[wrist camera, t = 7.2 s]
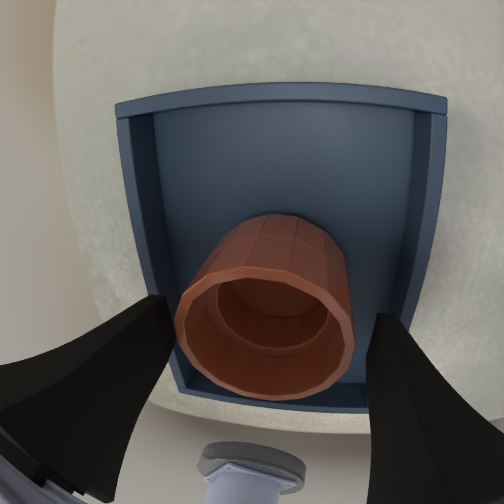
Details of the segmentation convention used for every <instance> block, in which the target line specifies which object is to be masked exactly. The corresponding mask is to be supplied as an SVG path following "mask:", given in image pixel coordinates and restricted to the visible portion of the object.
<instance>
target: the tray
mask: <svg viewBox="0 0 504 504" xmlns="http://www.w3.org/2000/svg"><path fill="white" fill-rule="evenodd" d="M115 115H116V119H117V120H116V125H117V134H118V143H119V151H120V158H121V165H122V172H123V178H124V185H125V191H126V197H127V202H128V208H129V213H130V218H131V223H132V228H133V233H134V238H135V242H136V247H137V251H138V256H139V260H140V264H141V268H142V272H143V276H144V280H145V284H146V288H147V292H148V296H149V295H151V294H155V295H162V296H166V298H167V302H168V306H169V310H170V314H171V318H172V322H173V326H174V330H175V333H176V328H175V322H174V316H175V313H176V311H177V308H178V305H179V303H180V300H181V297H182V294H183V293H184V292H185V290H186V289H187V287H188V286H189V284H190V283H191V281H192V280H193V278H194V277H195V275H196V274H197V272H198V271H199V270H200V268H201V267H202V265H203V264H204V262H205V261H206V260H207V258H208V257H209V255H210V254H211V252H212V251H213V250H214V248H215V247H216V245H217V244H218V242H219V241H220V240H221V239H222V237H223V236H224V235H226V234H227V233H228V232H229V231H230V230H232V229H233V228H234V227H235V226H236V225H238V224H239V223H242V222H243V221H245V220H249V219H252V218H256V217H259V216H263V215H266V214H268V215H269V214H279V215H288V216H297V217H299V218H302V219H304V220H306V221H307V222H309V223H311V224H313V225H315V226H317V227H319V228H321V229H322V230H324V231H325V232H327V233H328V234H329V235H330V236H331V238H332V239H333V240H334V241H335V243H336V244H337V245H338V246H339V248H340V249H341V250H342V251H343V254H344V256H345V260H346V264H347V268H348V273H349V278H350V285H351V293H352V302H353V311H354V320H355V331H356V342H357V345H356V349H355V352H354V355H353V358H352V360H351V363H350V366H349V368H348V370H347V372H345V373H344V374H343V375H342V376H341V377H340V378H339V379H338V380H337V381H336V382H335V383H333V384H332V385H331V386H330V387H329V388H327V389H325V390H323V391H320V392H317V393H315V394H312V395H310V396H307V397H304V398H301V399H291V400H278V401H273V400H272V401H270V400H264V399H258V398H252V397H247V396H243V395H240V394H237V393H235V392H233V391H230V390H228V389H226V388H224V387H221V386H219V385H217V384H216V383H214V382H213V381H211V380H210V379H209V378H207V377H206V376H205V375H204V374H202V373H201V372H200V371H199V370H197V369H196V368H195V367H194V366H193V365H192V364H191V362H190V361H189V359H188V358H187V356H186V355H185V353H184V352H183V350H182V349H181V347H180V345H179V343H178V340H177V339H176V342H175V345H174V348H173V350H172V353H171V355H170V358H169V360H168V362H169V365H170V368H171V370H172V373H173V376H174V379H175V382H176V385H177V386H178V390H179V392H180V393H184V394H188V395H193V396H198V397H203V398H208V399H213V400H218V401H224V402H230V403H236V404H243V405H250V406H257V407H265V408H273V409H283V410H293V411H305V412H321V413H348V414H369V408H368V399H367V390H366V354H367V350H368V347H369V343H370V339H371V335H372V332H373V328H374V324H375V320H376V315H377V313H395V314H396V316H397V317H398V318H399V320H400V321H401V322H402V324H403V325H404V326H405V328H406V329H407V331H409V328H410V325H411V322H412V319H413V316H414V313H415V309H416V306H417V303H418V299H419V296H420V292H421V289H422V285H423V281H424V277H425V274H426V270H427V265H428V261H429V257H430V253H431V248H432V243H433V238H434V233H435V228H436V223H437V217H438V211H439V205H440V198H441V191H442V183H443V174H444V165H445V153H446V139H447V116H446V115H447V98H446V97H443V96H438V95H433V94H428V93H422V92H417V91H410V90H404V89H397V88H389V87H381V86H371V85H361V84H347V83H329V82H267V83H248V84H235V85H224V86H214V87H205V88H197V89H190V90H183V91H177V92H171V93H165V94H159V95H154V96H149V97H144V98H139V99H135V100H130V101H126V102H121V103H117V104H115ZM176 337H177V334H176Z"/></svg>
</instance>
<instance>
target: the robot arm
mask: <svg viewBox="0 0 504 504" xmlns="http://www.w3.org/2000/svg"><path fill="white" fill-rule="evenodd" d="M176 339H177V337H176V333H175V330H174V326H173V322H172V318H171V314H170V310H169V306H168V302H167V298H166V296H162V295H155V294H151V295H149V296H147V297H145V298H144V299H142V300H140V301H138V302H137V303H135V304H134V305H132V306H130V307H129V308H127V309H126V310H124V311H122V312H121V313H119V314H118V315H116V316H114V317H113V318H111V319H110V320H108V321H106V322H105V323H103V324H101V325H100V326H98V327H96V328H94V329H93V330H91V331H89V332H87V333H86V334H84V335H82V336H80V337H78V338H76V339H74V340H73V341H71V342H68V343H66V344H64V345H62V346H60V347H58V348H55V349H53V350H50V351H47V352H45V353H42V354H39V355H37V356H34V357H31V358H28V359H24V360H21V361H18V362H13V363H10V364H5V365H0V504H87V503H85V502H84V501H82V500H80V499H78V498H77V497H75V496H73V495H72V494H73V492H74V491H76V492H77V493H79V494H81V495H82V496H83V495H84V494H85V493H86V494H88V495H90V496H92V497H94V498H96V499H98V500H100V501H101V502H103V503H110V502H112V501H114V497H115V491H116V487H117V482H118V477H119V473H120V469H121V466H122V462H123V459H124V455H125V452H126V449H127V446H128V443H129V440H130V437H131V434H132V432H133V429H134V426H135V424H136V421H137V419H138V416H139V414H140V412H141V410H142V408H143V406H144V404H145V403H146V401H147V399H148V397H149V395H150V393H151V392H152V390H153V388H154V386H155V385H156V383H157V381H158V379H159V377H160V375H161V374H162V372H163V370H164V368H165V366H166V364H167V363H168V360H169V358H170V355H171V353H172V350H173V348H174V345H175V342H176ZM366 390H367V399H368V408H369V418H370V429H371V445H372V446H371V448H372V450H371V467H370V480H369V488H368V497H367V503H366V504H504V433H502V432H501V431H500V430H498V429H497V428H496V427H495V426H493V425H492V424H491V423H490V422H488V421H487V420H486V419H485V418H484V417H483V416H481V415H480V414H479V413H478V412H477V411H476V410H475V409H473V408H472V407H471V406H470V405H469V404H468V403H467V402H466V401H465V400H464V399H463V398H462V397H461V396H460V395H459V394H458V393H457V392H456V391H455V390H454V389H453V388H452V386H451V385H450V384H449V383H448V382H447V381H446V380H445V379H444V377H443V376H442V375H441V374H440V373H439V371H438V370H437V369H436V368H435V367H434V365H433V364H432V363H431V362H430V360H429V359H428V358H427V356H426V355H425V354H424V352H423V351H422V350H421V348H420V347H419V346H418V344H417V343H416V342H415V340H414V339H413V338H412V336H411V335H410V333H409V332H408V331H407V329H406V328H405V326H404V325H403V324H402V322H401V321H400V320H399V318H398V317H397V316H396V314H395V313H377V315H376V320H375V324H374V328H373V332H372V335H371V339H370V343H369V347H368V350H367V354H366ZM203 480H204V481H206V482H208V483H210V485H209V488H208V490H207V494H206V496H205V499H204V502H203V504H278V499H279V494H280V491H283V490H286V489H288V488H291V487H294V486H296V485H297V482H296V481H292V480H288V479H284V478H280V477H276V476H273V475H269V474H266V473H262V472H259V471H255V470H252V469H249V468H246V467H243V466H240V465H237V464H234V463H227V464H225V465H223V466H222V467H220V468H219V469H217V470H215V471H214V472H212V473H210V474H209V475H207V476H205V477H204V478H203Z"/></svg>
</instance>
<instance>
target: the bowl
mask: <svg viewBox="0 0 504 504" xmlns="http://www.w3.org/2000/svg"><path fill="white" fill-rule="evenodd" d="M174 322H175V328H176V334H177V340H178V343H179V345H180V347H181V349H182V350H183V352H184V353H185V355H186V356H187V358H188V359H189V361H190V362H191V364H192V365H193V366H194V367H195V368H196V369H197V370H199V371H200V372H201V373H202V374H204V375H205V376H206V377H207V378H209V379H210V380H211V381H213V382H214V383H216V384H217V385H219V386H221V387H224V388H226V389H228V390H230V391H233V392H235V393H237V394H240V395H243V396H247V397H252V398H258V399H264V400H270V401H272V400H273V401H278V400H291V399H301V398H304V397H307V396H310V395H312V394H315V393H317V392H320V391H323V390H325V389H327V388H329V387H330V386H331V385H332V384H333V383H335V382H336V381H337V380H338V379H339V378H340V377H341V376H342V375H343V374H344V373H345V372H347V370H348V368H349V366H350V363H351V360H352V358H353V355H354V352H355V349H356V345H357V342H356V331H355V320H354V311H353V302H352V293H351V285H350V278H349V273H348V268H347V264H346V260H345V256H344V254H343V251H342V250H341V249H340V248H339V246H338V245H337V244H336V243H335V241H334V240H333V239H332V238H331V236H330V235H329V234H328V233H327V232H325V231H324V230H322V229H321V228H319V227H317V226H315V225H313V224H311V223H309V222H307V221H306V220H304V219H302V218H299V217H297V216H288V215H279V214H269V215H268V214H266V215H263V216H259V217H256V218H252V219H249V220H245V221H243V222H242V223H239V224H238V225H236V226H235V227H234V228H233V229H232V230H230V231H229V232H228V233H227V234H226V235H224V236H223V237H222V239H221V240H220V241H219V242H218V244H217V245H216V247H215V248H214V250H213V251H212V252H211V254H210V255H209V257H208V258H207V260H206V261H205V262H204V264H203V265H202V267H201V268H200V270H199V271H198V272H197V274H196V275H195V277H194V278H193V280H192V281H191V283H190V284H189V286H188V287H187V289H186V290H185V292H184V293H183V294H182V297H181V300H180V303H179V305H178V308H177V311H176V313H175V316H174Z"/></svg>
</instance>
